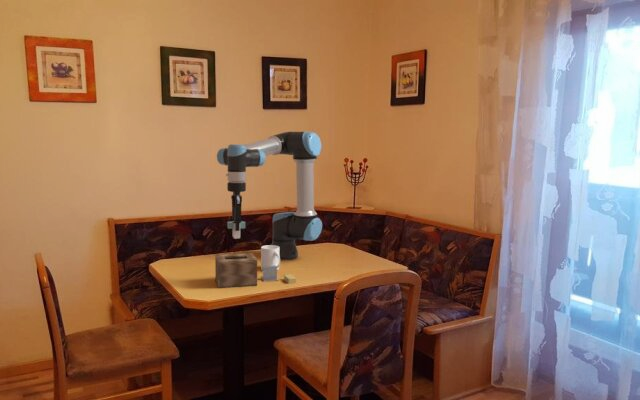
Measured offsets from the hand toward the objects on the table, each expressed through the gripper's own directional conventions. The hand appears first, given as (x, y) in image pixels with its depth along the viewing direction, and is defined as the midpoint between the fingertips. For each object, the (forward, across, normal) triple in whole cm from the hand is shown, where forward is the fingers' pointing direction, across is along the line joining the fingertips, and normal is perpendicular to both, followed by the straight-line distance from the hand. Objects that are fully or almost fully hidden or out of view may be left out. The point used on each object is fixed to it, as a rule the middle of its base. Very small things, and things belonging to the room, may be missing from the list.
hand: (236, 237), depth 217 cm
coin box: (+20, 0, 0) cm, 20 cm away
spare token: (+20, +2, +23) cm, 30 cm away
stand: (+20, -3, +15) cm, 25 cm away
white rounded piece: (+20, -18, +19) cm, 33 cm away
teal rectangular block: (-4, 0, 0) cm, 4 cm away
